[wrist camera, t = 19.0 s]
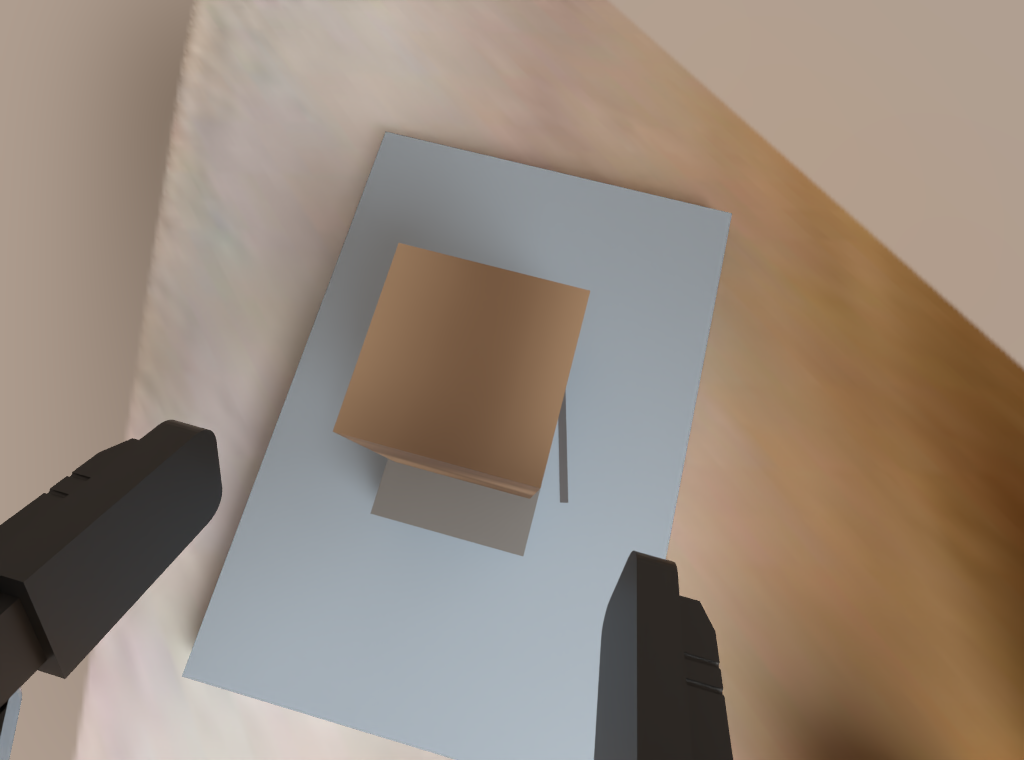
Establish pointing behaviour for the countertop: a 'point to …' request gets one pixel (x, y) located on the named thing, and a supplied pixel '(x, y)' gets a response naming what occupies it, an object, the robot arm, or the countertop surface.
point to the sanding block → (463, 393)
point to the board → (445, 559)
